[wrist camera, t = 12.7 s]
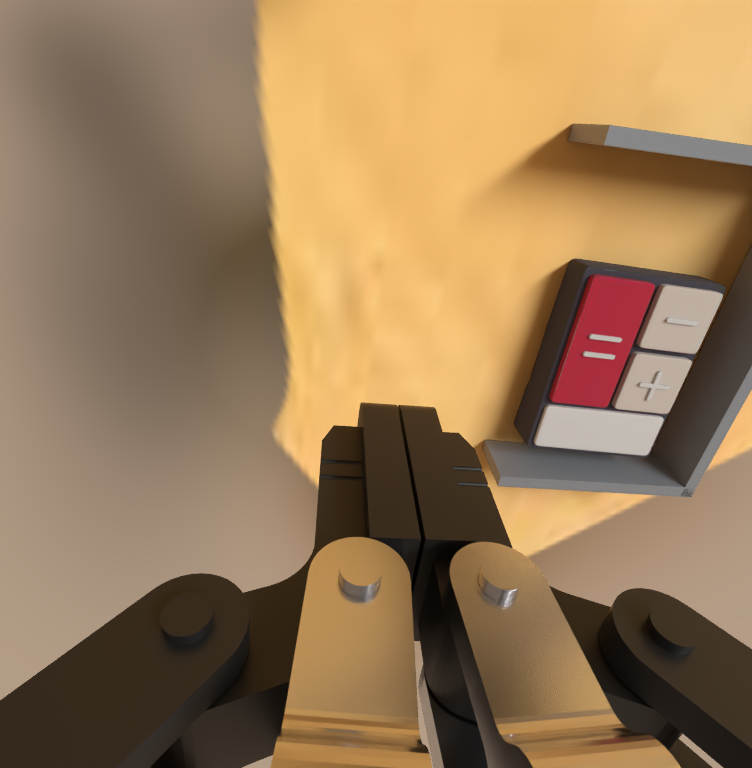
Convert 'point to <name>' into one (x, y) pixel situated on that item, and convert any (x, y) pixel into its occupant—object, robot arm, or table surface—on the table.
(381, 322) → the table surface
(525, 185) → the table surface
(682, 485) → the box
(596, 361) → the calculator
